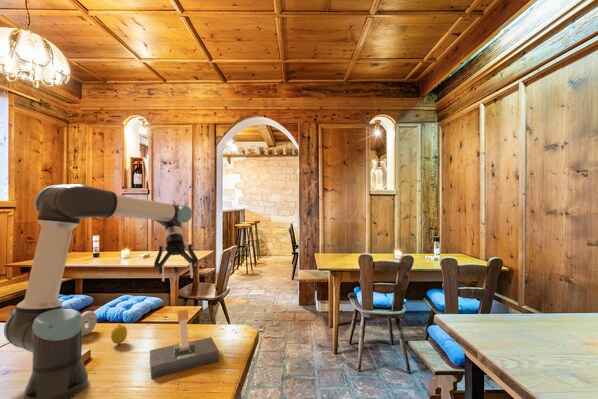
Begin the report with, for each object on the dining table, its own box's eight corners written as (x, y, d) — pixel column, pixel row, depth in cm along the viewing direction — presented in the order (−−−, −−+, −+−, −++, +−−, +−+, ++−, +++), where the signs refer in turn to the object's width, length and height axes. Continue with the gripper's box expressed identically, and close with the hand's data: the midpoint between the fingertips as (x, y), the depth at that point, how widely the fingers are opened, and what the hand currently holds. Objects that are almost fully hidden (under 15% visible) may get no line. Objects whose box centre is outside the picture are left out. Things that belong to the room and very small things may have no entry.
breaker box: (151, 378, 96) (151, 360, 96) (149, 361, 106) (150, 344, 106) (218, 361, 107) (218, 345, 107) (211, 347, 117) (211, 332, 117)
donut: (80, 340, 122) (80, 316, 122) (72, 339, 122) (73, 315, 122) (98, 329, 132) (99, 307, 132) (91, 329, 132) (92, 307, 132)
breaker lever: (179, 350, 104) (177, 311, 110) (178, 351, 106) (177, 312, 112) (190, 348, 106) (187, 309, 112) (189, 349, 108) (186, 311, 114)
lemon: (130, 341, 121) (130, 322, 121) (120, 348, 116) (120, 327, 116) (117, 340, 122) (117, 321, 122) (107, 347, 116) (107, 327, 116)
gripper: (198, 241, 147) (204, 279, 134) (147, 244, 136) (147, 286, 122) (200, 231, 143) (207, 270, 129) (147, 234, 132) (148, 276, 118)
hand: (178, 278), depth 126 cm, fingers open, 11 cm apart
